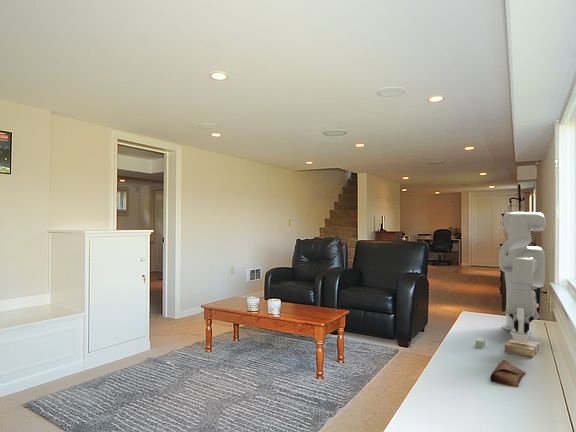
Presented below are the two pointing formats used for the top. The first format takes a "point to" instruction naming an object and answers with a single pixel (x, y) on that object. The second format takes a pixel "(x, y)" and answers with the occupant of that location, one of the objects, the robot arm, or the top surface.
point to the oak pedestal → (521, 348)
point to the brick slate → (535, 343)
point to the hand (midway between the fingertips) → (521, 330)
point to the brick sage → (480, 342)
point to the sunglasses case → (507, 374)
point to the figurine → (521, 328)
